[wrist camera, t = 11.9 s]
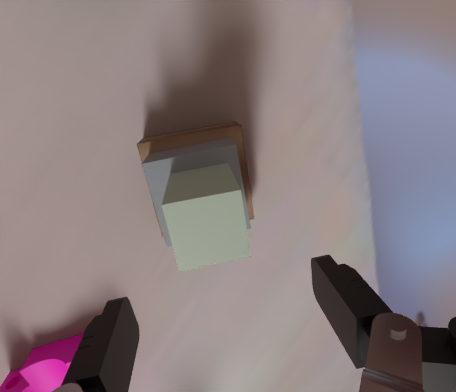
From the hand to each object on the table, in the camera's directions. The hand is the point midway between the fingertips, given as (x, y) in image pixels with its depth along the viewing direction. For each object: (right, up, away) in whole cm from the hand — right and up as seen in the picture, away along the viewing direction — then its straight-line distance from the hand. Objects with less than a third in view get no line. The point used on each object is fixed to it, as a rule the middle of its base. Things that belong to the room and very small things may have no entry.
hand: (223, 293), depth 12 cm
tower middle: (-3, +5, +17) cm, 18 cm away
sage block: (-2, +4, +13) cm, 14 cm away
